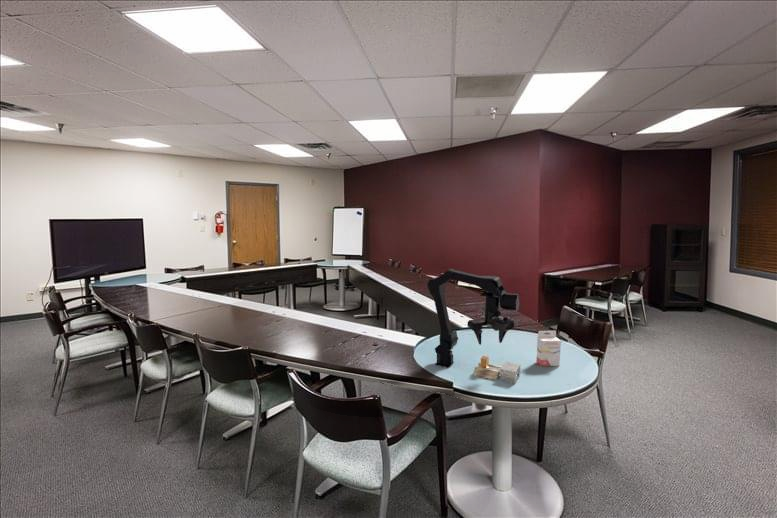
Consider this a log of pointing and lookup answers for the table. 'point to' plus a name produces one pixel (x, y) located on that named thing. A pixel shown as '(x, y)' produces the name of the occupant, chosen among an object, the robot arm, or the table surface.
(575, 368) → the table surface
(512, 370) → the block
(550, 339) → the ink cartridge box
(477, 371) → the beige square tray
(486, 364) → the lock bolt
